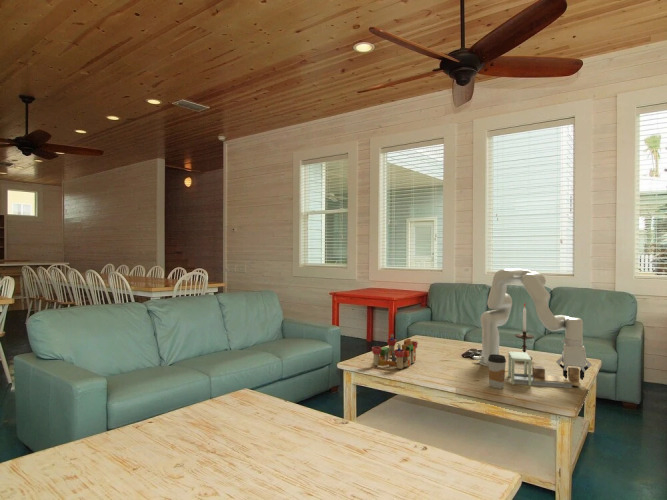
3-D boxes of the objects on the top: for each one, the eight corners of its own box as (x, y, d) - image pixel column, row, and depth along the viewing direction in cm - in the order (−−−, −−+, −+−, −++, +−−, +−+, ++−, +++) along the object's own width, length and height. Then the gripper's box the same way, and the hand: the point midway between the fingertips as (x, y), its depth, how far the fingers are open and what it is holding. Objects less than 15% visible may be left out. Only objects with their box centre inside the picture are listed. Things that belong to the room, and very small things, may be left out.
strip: (535, 382, 214) (535, 367, 214) (532, 376, 224) (532, 362, 224) (580, 386, 209) (580, 371, 209) (575, 380, 218) (575, 365, 218)
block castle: (389, 354, 276) (389, 332, 276) (419, 358, 266) (419, 335, 266) (370, 365, 249) (370, 341, 249) (403, 370, 240) (403, 345, 240)
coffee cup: (496, 390, 206) (496, 359, 206) (484, 384, 214) (484, 355, 214) (509, 387, 210) (509, 357, 210) (496, 382, 217) (497, 353, 217)
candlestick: (534, 361, 259) (535, 303, 258) (515, 359, 262) (515, 302, 262) (532, 357, 269) (533, 301, 269) (514, 355, 272) (514, 300, 272)
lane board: (514, 383, 216) (514, 379, 216) (511, 376, 228) (511, 372, 228) (572, 388, 209) (572, 384, 209) (566, 381, 220) (566, 377, 220)
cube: (533, 378, 217) (534, 368, 217) (532, 375, 222) (532, 365, 222) (544, 379, 215) (544, 369, 215) (542, 376, 220) (542, 366, 220)
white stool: (511, 384, 215) (511, 358, 215) (508, 375, 229) (508, 351, 229) (531, 386, 213) (531, 359, 213) (526, 377, 227) (526, 352, 227)
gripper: (556, 343, 213) (556, 379, 213) (595, 345, 208) (595, 382, 208) (553, 339, 220) (552, 374, 220) (591, 342, 215) (590, 377, 215)
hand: (573, 378), depth 214 cm, fingers open, 6 cm apart
